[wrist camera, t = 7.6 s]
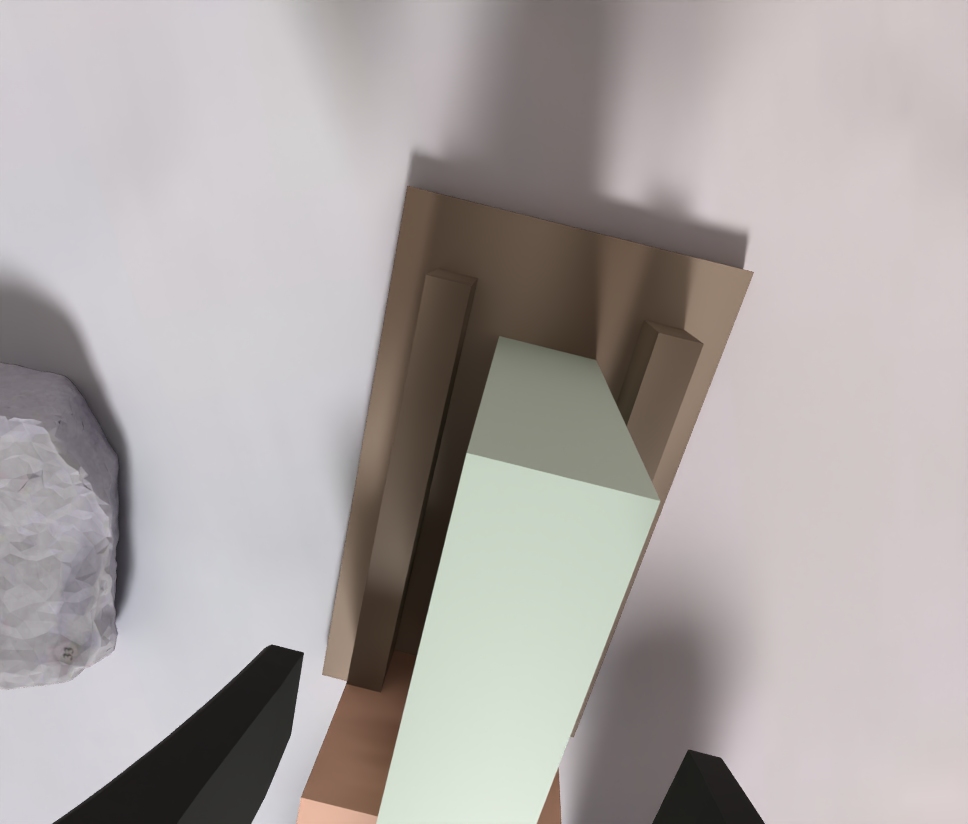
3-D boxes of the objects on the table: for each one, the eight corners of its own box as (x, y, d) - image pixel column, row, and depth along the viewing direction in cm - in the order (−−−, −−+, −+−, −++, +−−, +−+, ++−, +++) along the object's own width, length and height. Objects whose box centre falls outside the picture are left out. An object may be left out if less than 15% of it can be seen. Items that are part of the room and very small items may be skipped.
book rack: (743, 269, 17) (877, 301, 10) (572, 719, 23) (588, 919, 16) (413, 187, 17) (338, 167, 10) (329, 659, 23) (248, 834, 16)
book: (596, 360, 17) (660, 501, 8) (507, 644, 21) (490, 943, 12) (499, 336, 17) (466, 452, 8) (428, 625, 21) (355, 909, 12)
